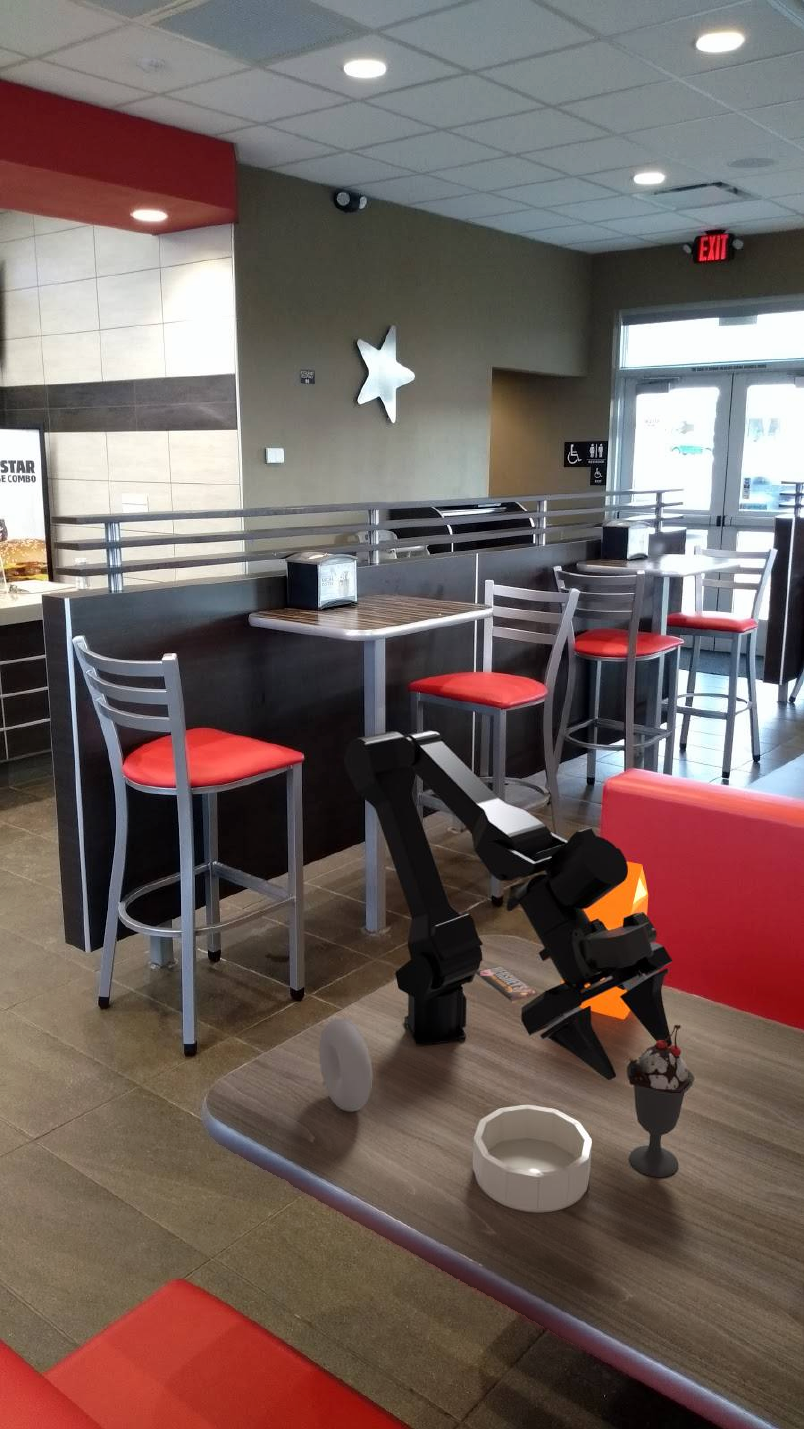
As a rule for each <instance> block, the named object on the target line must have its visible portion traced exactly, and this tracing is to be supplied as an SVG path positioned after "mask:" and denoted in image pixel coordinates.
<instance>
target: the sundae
mask: <svg viewBox="0 0 804 1429" xmlns="http://www.w3.org/2000/svg"><path fill="white" fill-rule="evenodd" d="M681 1026H682V1025H681V1024H674V1026H673V1030H672V1032H671V1033H670V1036H669V1037H668V1038H667V1039H665V1040H658V1041H656V1043H655V1044H654V1045H652V1046H650V1047H649V1046H648V1048H646V1049H645V1050H644V1051H643V1052H642V1054H641V1055H640V1057H638V1059H632V1058H629V1063H628V1064H627V1066H626V1076H627V1079H628V1081H629V1084H630V1085H632V1086H633V1091H634V1105H635V1111H636V1117H637V1118H636V1119H637V1123H638V1124H639V1125H640V1126H641V1127H642V1128H643V1129H644V1131H646V1132H647V1133H648V1134H649V1143H648V1145H641V1146H636V1148H634V1149H633V1150H632V1151H631V1152H630V1153H629V1156H628V1160H629V1162H630V1164H631V1165H632V1167H633V1168H634V1170H636V1171H638V1172H639V1173H641V1174H642V1175H643V1174H644V1175H646V1176H649V1177H654V1178H655V1177H656V1178H665V1177H668V1176H671V1175H673V1174H675V1172H677V1171H678V1169H679V1162H678V1159H677V1157H676V1156H675V1154H674V1153H672V1152H671V1151H669V1150H667V1149H666V1148H663V1147H662V1143H661V1142H662V1136H664V1135H667V1134H668V1133H670V1132H672V1131H673V1130H674V1129H675V1128H676V1126H677V1123H678V1120H679V1117H680V1114H681V1110H682V1105H683V1102H684V1101H683V1100H684V1096H685V1093H686V1092H687V1091H688V1090H689V1089H690V1088H691V1087H692V1086H693V1084H694V1082H695V1076H694V1074H693V1073H692V1072H691V1071H689V1069H688V1066H687V1064H686V1062H685V1061H684V1059H682V1057H681V1054H682V1050H681V1048H680V1047H679V1046H678V1045H677V1035H678V1030H679V1029H681V1028H682V1027H681ZM674 1032H675V1033H674ZM673 1034H674V1042H673V1043H674V1045H671V1046H670V1047H667V1043H666V1041H667V1040H668V1039H669V1038H670V1037H671V1038H672V1036H673Z"/></svg>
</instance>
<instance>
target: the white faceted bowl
mask: <svg viewBox="0 0 804 1429" xmlns="http://www.w3.org/2000/svg"><path fill="white" fill-rule="evenodd" d="M592 1143H593V1139H592V1138H591V1136H590V1135H589V1133H588V1132H587V1131H586V1129H585V1128H584V1126H583V1125H582V1123H581V1122H580V1121H578V1120H576V1119H575V1118H573V1117H570V1116H569V1115H567V1114H565V1113H563V1112H562V1111H560V1110H558V1109H556V1108H550V1107H546V1106H540V1105H539V1106H538V1105H532V1104H521V1105H513V1106H508V1107H507V1106H506V1107H500V1108H498V1109H496V1110H494V1111H492V1112H491V1113H489V1114H488V1115H486V1116H484V1117H483V1118H482V1119H480V1120H479V1122H478V1125H477V1127H476V1130H475V1134H474V1136H473V1149H472V1151H473V1154H472V1170H473V1171H474V1178H475V1180H476V1183H477V1185H478V1187H479V1188H480V1189H481V1191H483V1192H484V1194H485V1195H487V1196H488V1197H489V1198H491V1199H492V1200H494V1201H495V1202H497V1203H499V1204H500V1205H503V1206H504V1207H507V1208H510V1209H512V1210H516V1211H521V1212H526V1213H536V1214H537V1213H551V1212H556V1211H557V1212H558V1211H561V1210H564V1209H566V1208H569V1207H571V1206H572V1205H574V1204H576V1203H577V1202H579V1200H581V1199H582V1198H583V1196H584V1195H585V1193H586V1191H587V1190H588V1186H589V1180H590V1179H589V1178H590V1173H591V1163H592V1162H591V1161H592V1159H591V1158H592V1146H593V1144H592Z"/></svg>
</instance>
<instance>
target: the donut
mask: <svg viewBox="0 0 804 1429" xmlns="http://www.w3.org/2000/svg"><path fill="white" fill-rule="evenodd" d="M318 1045H319V1047H318V1054H319V1055H318V1056H319V1065H320V1071H321V1076H322V1079H323V1080H322V1081H323V1083H324V1086H325V1090H326V1092H327V1093H328V1095H329V1097H330V1099H331V1100H332V1102H333V1103H334V1105H336V1106H337V1107H338V1108H339V1109H340V1110H343V1111H346V1112H356V1111H359V1110H360V1109H361V1108H362V1107H363V1106H364V1105H366V1103H367V1102H368V1100H369V1098H370V1094H371V1092H372V1083H373V1070H372V1062H371V1056H370V1051H369V1049H368V1045H367V1043H366V1040H365V1038H364V1035H363V1034H362V1032H361V1030H360V1029H359V1027H358V1026H357V1025H356V1024H355V1023H354V1022H353V1021H351V1019H348V1018H345V1017H342V1018H341V1017H340V1018H339V1017H338V1018H333V1019H331V1020H330V1021H328V1022H327V1024H326V1025H325V1026H324V1027H323V1029H322V1030H321V1035H320V1039H319V1044H318Z"/></svg>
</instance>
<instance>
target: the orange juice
mask: <svg viewBox="0 0 804 1429" xmlns="http://www.w3.org/2000/svg"><path fill="white" fill-rule="evenodd" d="M627 865H628V875H627V878H626V879H625V881H624V882H622V883H621V884H620V885H619V886H617V887H616V888H615V889H613V890H612V891H611V892H609V893H608V894H607V895H605V896H604V897H603V898H601V899H600V900H599V901H598V902H596V903H595V904H594V905H592V906H591V907H589V908H587V909H584V911H585V913H586V914H587V916H588V918H589V919H590V921H593V920H595V919H599V920H600V921H602V922H603V923H604V925H605V927H606V928H607V929H608V930H610V929H615V928H618V927H620V926H623V919H624V917H627V916H629V915H631V914H634V913H639V912H644V913H645V915H646V916H647V917H648V907H649V906H648V905H649V904H648V903H649V901H648V900H649V893H648V888H647V881H646V877H645V873H644V869H643V864H641V863H636V862H631V861H627ZM603 979H605V978H603ZM603 979H602V980H603ZM562 983H564V981H563V980H562V979H561V984H562ZM588 986H590V984H587V985H585V988H586V987H588ZM626 992H627V991H626V989H625V990H622V989H620V988H618V987H614V988H612V989H610V990H608V991H606V992H604V993H602V994H600V995H598V996H596V997H593V998H591V999H589V1000H587V1001H585V1002H583V1003H582V1005H580V1007H581V1009H584V1008H586V1007H588V1006H591V1012H594V1013H598V1014H602V1015H605V1016H610V1017H613V1018H618V1019H619V1020H620V1019H621V1020H625V1019H626V1018H627V1016H628V1015H629V1013H630V1012H631V1010H630V1009H629V1008H628V1006H627V1005H626V1004H625V1003H624V1001H623V1000H622V999H621V998H620V996H621V995H623V994H624V993H626Z"/></svg>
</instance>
